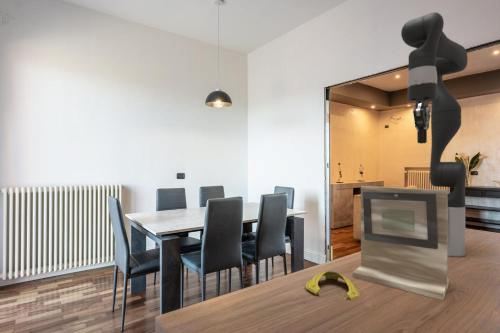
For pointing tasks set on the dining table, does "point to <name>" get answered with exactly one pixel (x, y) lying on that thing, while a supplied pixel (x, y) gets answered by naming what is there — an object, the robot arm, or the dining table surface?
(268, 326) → the dining table surface
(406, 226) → the picture frame
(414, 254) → the wall board stand
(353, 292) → the yellow horseshoe piece
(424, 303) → the dining table surface
